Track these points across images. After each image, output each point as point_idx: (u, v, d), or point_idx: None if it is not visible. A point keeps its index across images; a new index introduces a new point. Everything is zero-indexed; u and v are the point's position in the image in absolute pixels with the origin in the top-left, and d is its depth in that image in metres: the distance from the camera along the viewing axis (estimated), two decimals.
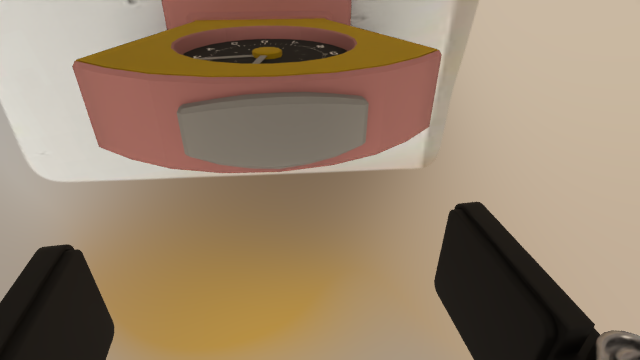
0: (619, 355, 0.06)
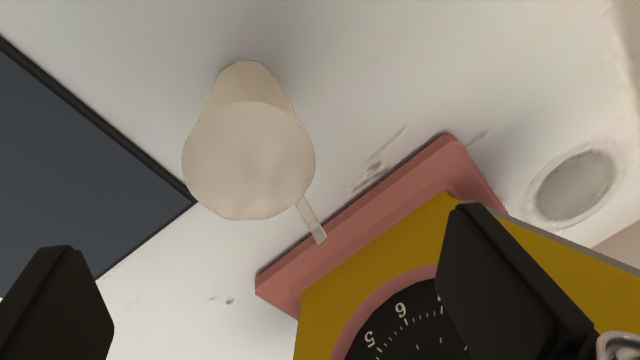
0: (619, 355, 0.06)
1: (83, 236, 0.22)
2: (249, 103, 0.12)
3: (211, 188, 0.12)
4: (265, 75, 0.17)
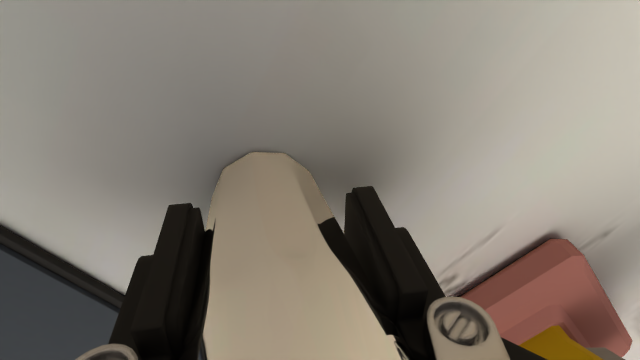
0: (445, 323, 0.07)
1: None
2: None
3: None
4: (306, 196, 0.09)
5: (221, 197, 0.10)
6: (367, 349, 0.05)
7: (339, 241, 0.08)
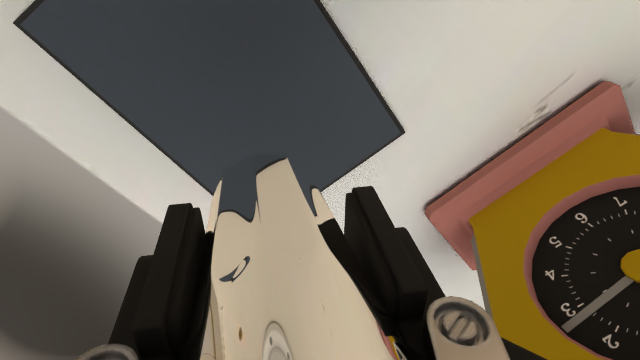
0: (445, 323, 0.07)
1: (313, 159, 0.27)
2: None
3: None
4: (306, 197, 0.09)
5: (222, 198, 0.10)
6: (367, 351, 0.05)
7: (339, 243, 0.08)
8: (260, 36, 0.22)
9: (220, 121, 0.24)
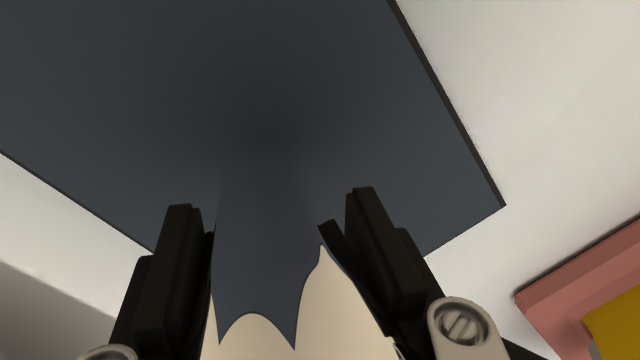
0: (445, 323, 0.07)
1: None
2: None
3: None
4: (306, 198, 0.09)
5: (222, 199, 0.10)
6: (367, 352, 0.05)
7: (339, 243, 0.08)
8: (303, 77, 0.13)
9: None
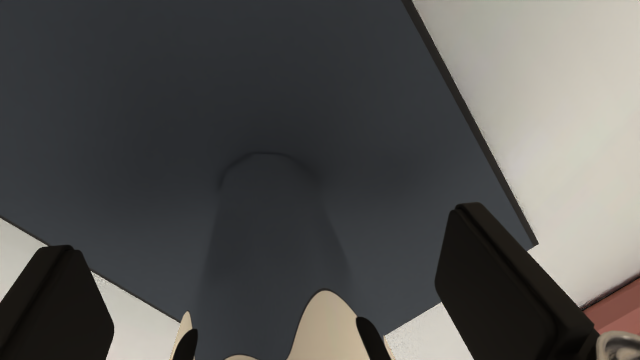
0: (619, 355, 0.06)
1: (389, 291, 0.16)
2: None
3: None
4: (302, 196, 0.10)
5: (223, 195, 0.10)
6: (340, 339, 0.06)
7: (330, 240, 0.09)
8: (317, 110, 0.12)
9: None
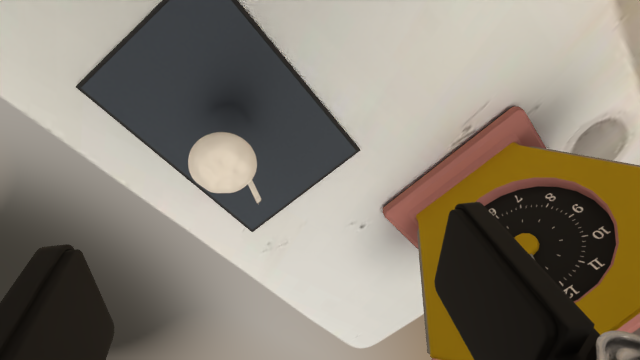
0: (619, 355, 0.06)
1: (290, 172, 0.36)
2: (220, 133, 0.24)
3: (202, 175, 0.25)
4: (236, 114, 0.29)
5: (210, 116, 0.30)
6: (233, 131, 0.25)
7: (242, 124, 0.28)
8: (245, 87, 0.31)
9: None
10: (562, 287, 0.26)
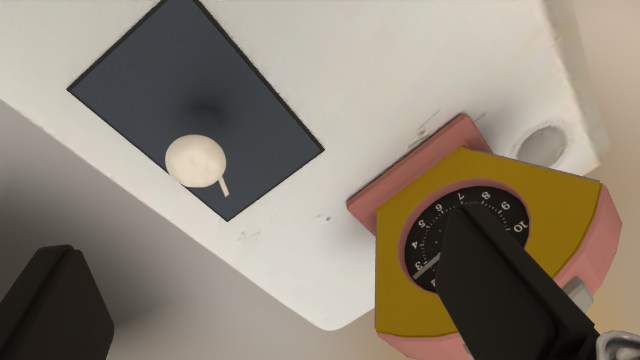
0: (619, 355, 0.06)
1: (261, 169, 0.40)
2: (193, 135, 0.28)
3: (177, 171, 0.28)
4: (210, 117, 0.33)
5: (187, 118, 0.34)
6: (205, 134, 0.29)
7: (215, 127, 0.32)
8: (219, 92, 0.35)
9: None
10: None
